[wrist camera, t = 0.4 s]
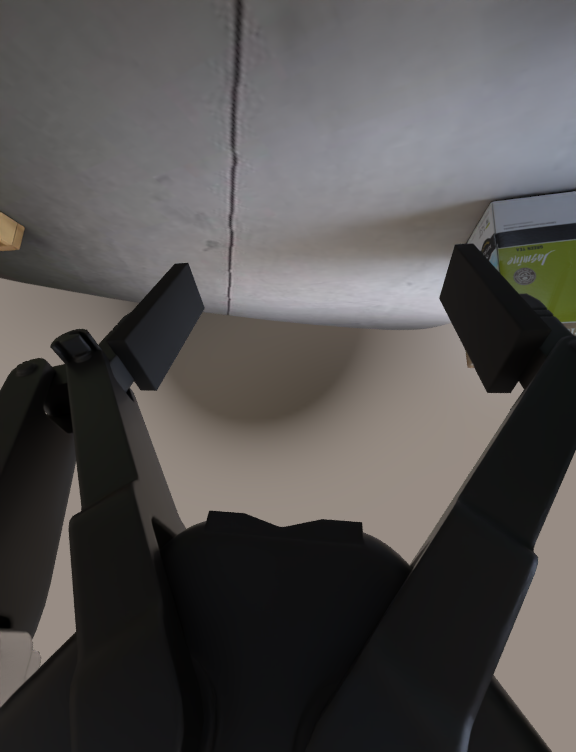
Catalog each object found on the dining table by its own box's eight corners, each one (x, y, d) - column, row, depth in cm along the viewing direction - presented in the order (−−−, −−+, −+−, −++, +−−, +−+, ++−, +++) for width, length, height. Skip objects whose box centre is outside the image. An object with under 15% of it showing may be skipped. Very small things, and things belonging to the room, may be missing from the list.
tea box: (455, 258, 37) (463, 370, 34) (490, 196, 27) (506, 345, 24) (597, 246, 33) (619, 369, 31) (695, 170, 24) (740, 340, 21)
